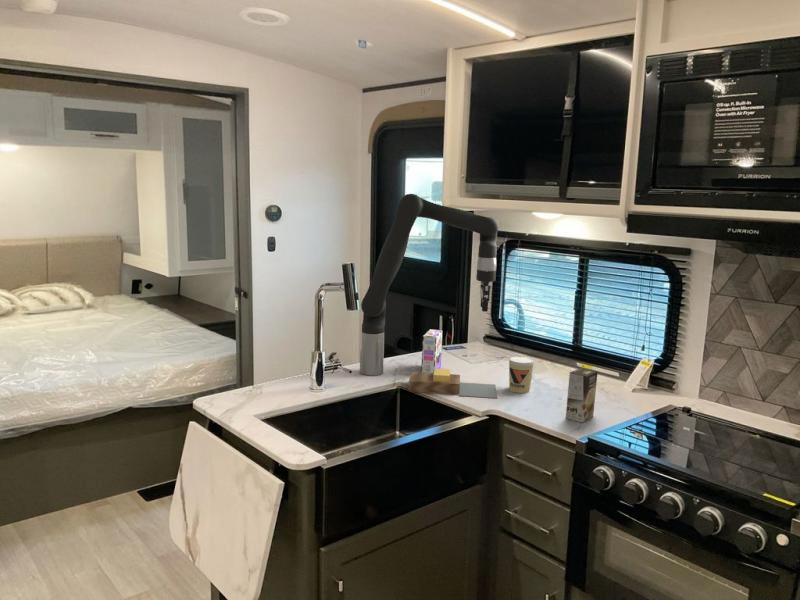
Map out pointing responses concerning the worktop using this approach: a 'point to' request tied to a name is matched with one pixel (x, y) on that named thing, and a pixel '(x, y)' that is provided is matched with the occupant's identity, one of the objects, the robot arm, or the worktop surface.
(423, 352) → the candy box
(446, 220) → the robot arm
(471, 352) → the worktop surface
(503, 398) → the worktop surface
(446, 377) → the yellow rectangular block
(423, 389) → the brown flat block
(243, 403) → the worktop surface
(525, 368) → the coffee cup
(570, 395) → the coffee box
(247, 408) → the worktop surface
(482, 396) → the mat
